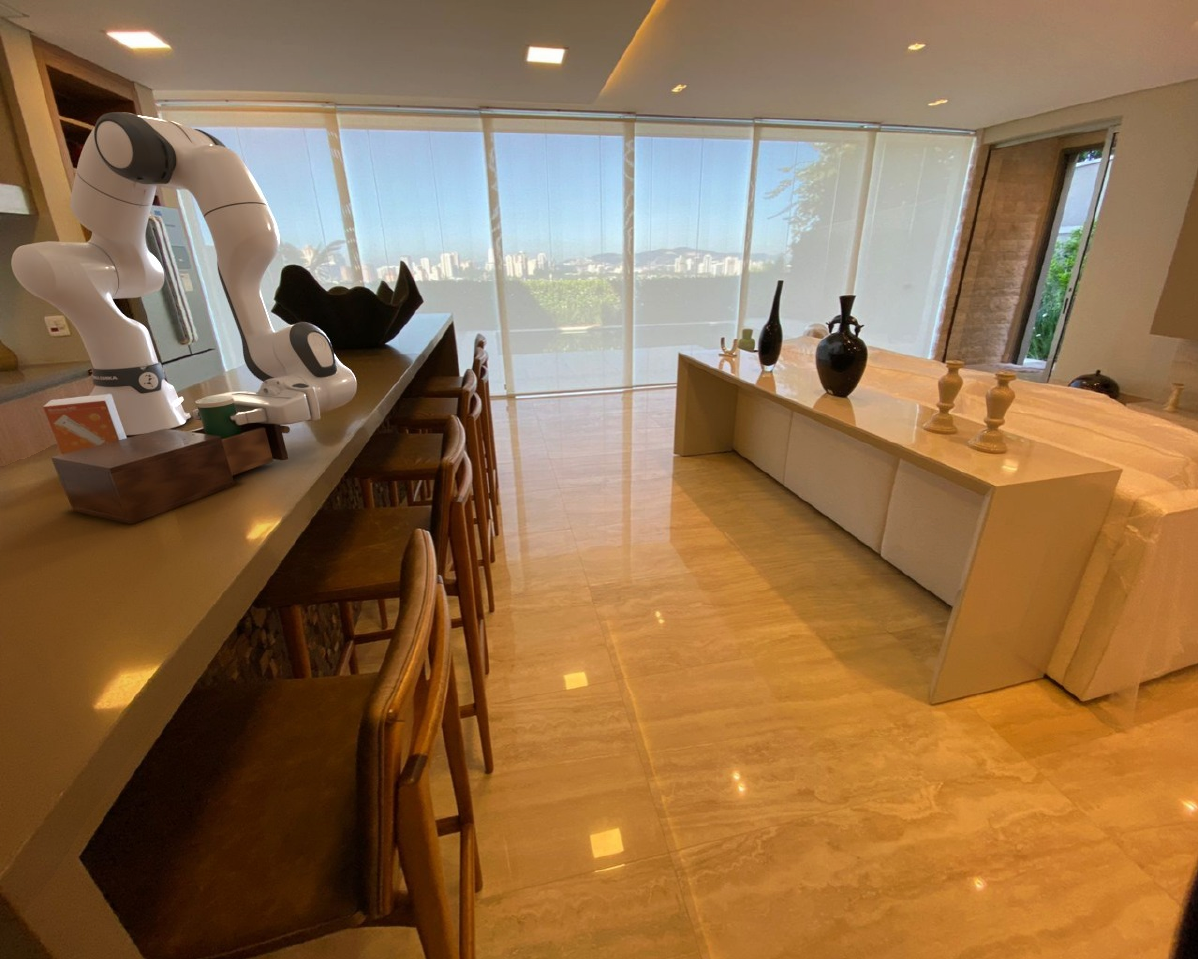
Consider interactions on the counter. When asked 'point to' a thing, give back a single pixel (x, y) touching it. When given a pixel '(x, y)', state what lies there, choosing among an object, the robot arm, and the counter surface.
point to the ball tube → (218, 416)
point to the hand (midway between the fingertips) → (214, 417)
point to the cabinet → (144, 474)
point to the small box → (84, 422)
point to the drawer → (254, 446)
